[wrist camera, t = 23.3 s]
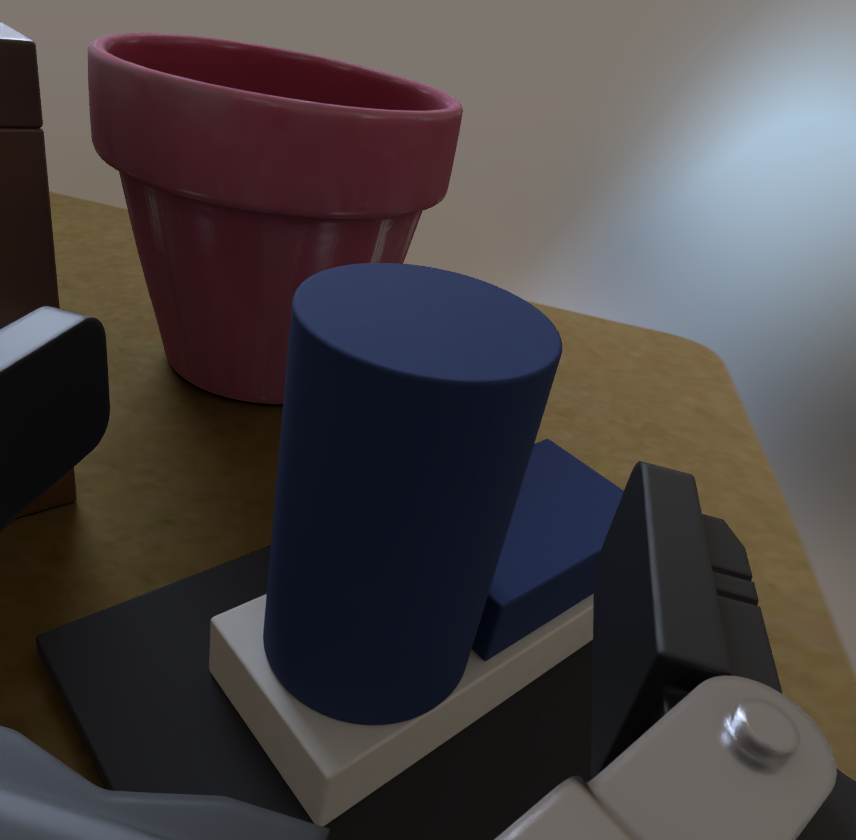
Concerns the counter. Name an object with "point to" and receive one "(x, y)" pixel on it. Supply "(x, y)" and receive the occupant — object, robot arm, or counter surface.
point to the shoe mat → (244, 756)
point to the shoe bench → (25, 208)
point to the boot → (409, 530)
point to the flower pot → (258, 185)
